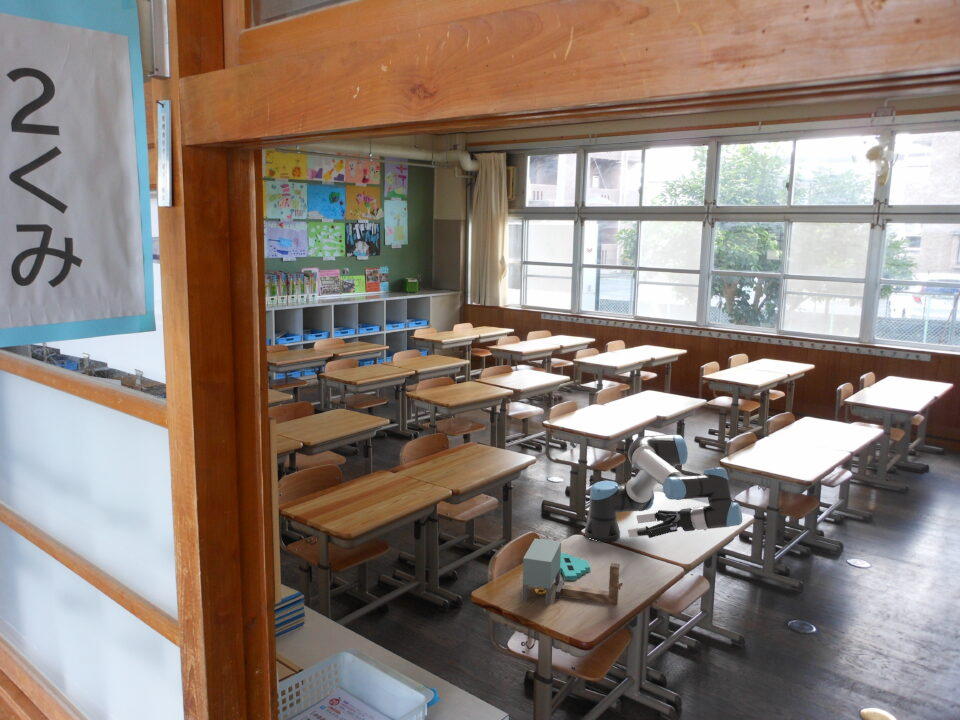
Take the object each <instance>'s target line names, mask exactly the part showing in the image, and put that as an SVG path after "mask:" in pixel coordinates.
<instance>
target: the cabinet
mask: <svg viewBox="0 0 960 720" xmlns="http://www.w3.org/2000/svg"><path fill="white" fill-rule="evenodd" d="M561 550H562V541H556V540H550V539H549V540H548V539H543V538H534V539H533V541H532V542H531V544H530V546H529V547H528V550H527V551H526V552H525V554H524V556H523V557H522V558H523V559H522V594H521V595H522V601H525V602H527V600H528V590H529V588H528V586H530V587H534V588H537V587H542V588H546V594H545V605H551V603H552V586H553V583H554V584H557V585H559V582H560V580H561V572H560V562H561V553H562V551H561Z"/></svg>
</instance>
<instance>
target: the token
mask: <svg viewBox="0 0 960 720" xmlns="http://www.w3.org/2000/svg"><path fill="white" fill-rule="evenodd" d="M534 594H536V595H539V596H546V588H542V587H534Z"/></svg>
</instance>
